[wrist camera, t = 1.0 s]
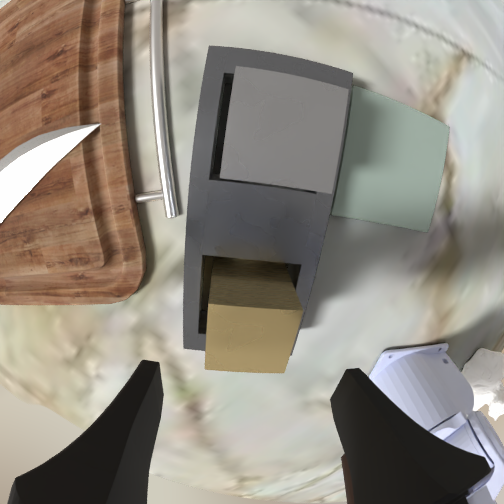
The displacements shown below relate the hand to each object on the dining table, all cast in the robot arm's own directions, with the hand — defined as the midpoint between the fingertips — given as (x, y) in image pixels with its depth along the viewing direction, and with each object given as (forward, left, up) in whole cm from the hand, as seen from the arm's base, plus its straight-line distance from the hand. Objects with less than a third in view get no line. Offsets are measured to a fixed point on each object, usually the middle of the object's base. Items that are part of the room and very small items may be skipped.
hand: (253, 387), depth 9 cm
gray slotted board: (0, -4, -9) cm, 10 cm away
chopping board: (+28, -7, -9) cm, 30 cm away
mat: (-9, -9, -9) cm, 15 cm away
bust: (-34, +12, -9) cm, 37 cm away
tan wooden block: (0, 0, -9) cm, 9 cm away
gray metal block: (0, -9, -9) cm, 12 cm away
